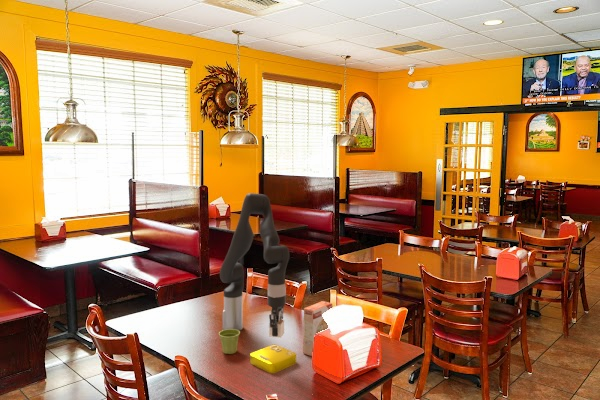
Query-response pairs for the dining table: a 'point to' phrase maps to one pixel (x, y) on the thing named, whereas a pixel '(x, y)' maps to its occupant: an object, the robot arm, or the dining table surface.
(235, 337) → the plant pot
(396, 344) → the dining table surface
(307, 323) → the cracker box
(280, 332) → the cream brown block
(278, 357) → the element tile
